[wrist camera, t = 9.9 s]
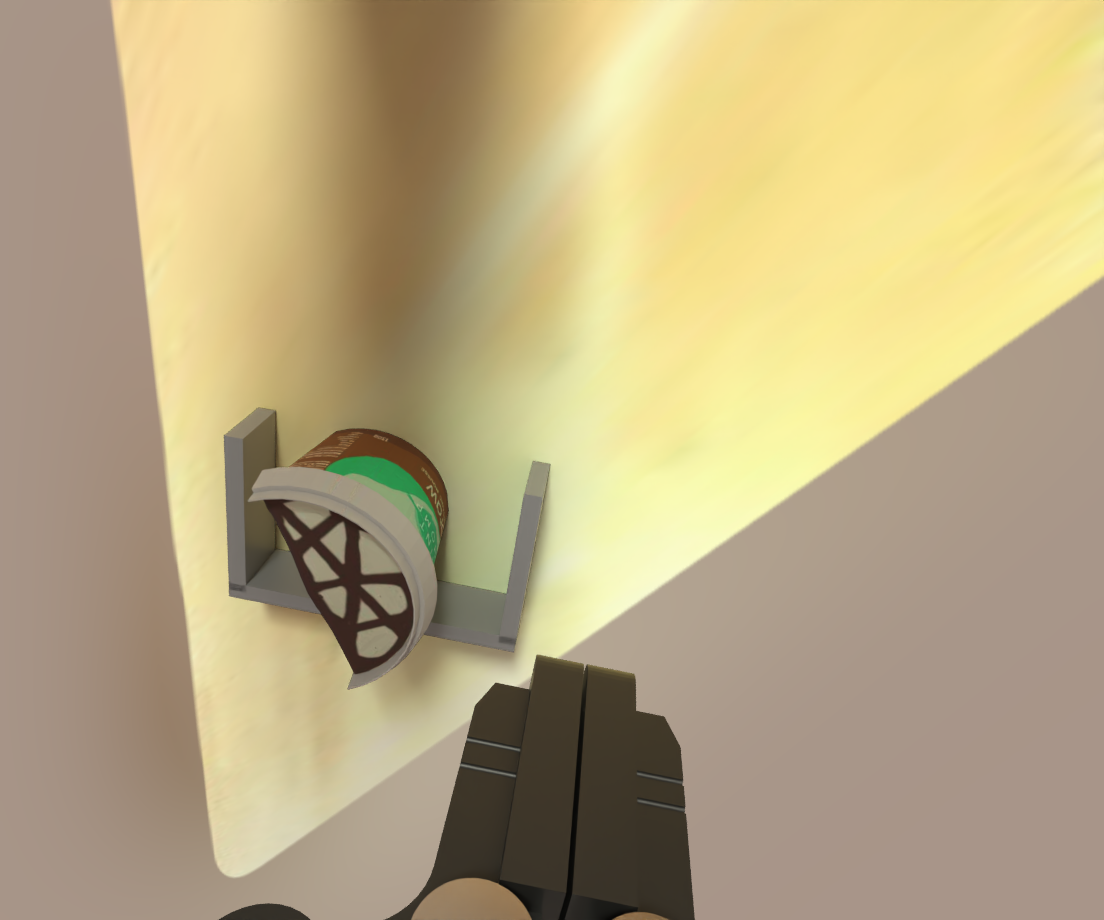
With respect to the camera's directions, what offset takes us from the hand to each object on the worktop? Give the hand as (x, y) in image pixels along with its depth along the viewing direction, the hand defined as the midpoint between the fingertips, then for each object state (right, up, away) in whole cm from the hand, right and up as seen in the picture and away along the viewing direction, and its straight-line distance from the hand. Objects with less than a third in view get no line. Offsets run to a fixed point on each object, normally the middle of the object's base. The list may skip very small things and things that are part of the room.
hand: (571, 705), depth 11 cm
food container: (-8, +2, +32) cm, 34 cm away
